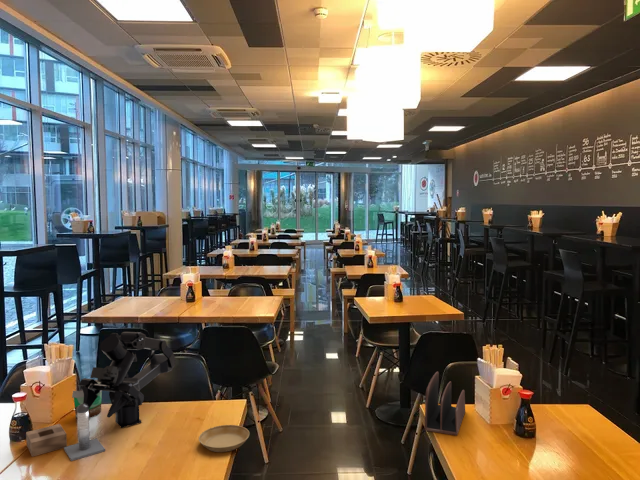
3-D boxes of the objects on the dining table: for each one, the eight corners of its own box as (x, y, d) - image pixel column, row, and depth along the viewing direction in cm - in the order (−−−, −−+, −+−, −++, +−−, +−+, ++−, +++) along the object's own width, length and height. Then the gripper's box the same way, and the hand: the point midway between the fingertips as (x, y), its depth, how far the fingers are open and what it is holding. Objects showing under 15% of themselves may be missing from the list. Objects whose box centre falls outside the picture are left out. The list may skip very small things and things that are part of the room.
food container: (89, 422, 162) (88, 392, 162) (73, 421, 164) (71, 391, 163) (112, 407, 174) (111, 380, 174) (96, 406, 176) (95, 379, 175)
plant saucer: (238, 458, 138) (238, 449, 138) (189, 453, 141) (189, 444, 141) (256, 435, 152) (256, 426, 152) (212, 431, 155) (211, 422, 155)
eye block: (60, 436, 152) (59, 423, 152) (66, 446, 145) (66, 433, 145) (26, 445, 147) (26, 432, 146) (31, 456, 140) (31, 442, 139)
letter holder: (424, 431, 153) (424, 386, 152) (435, 407, 171) (435, 367, 171) (457, 436, 149) (457, 390, 148) (465, 411, 167) (465, 371, 167)
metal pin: (84, 444, 145) (82, 401, 144) (93, 446, 144) (91, 402, 143) (75, 449, 142) (74, 405, 141) (84, 451, 141) (82, 406, 140)
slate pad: (96, 440, 149) (96, 438, 149) (105, 450, 142) (105, 448, 142) (63, 449, 144) (63, 447, 144) (71, 461, 137) (71, 458, 137)
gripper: (81, 352, 154) (54, 400, 144) (131, 357, 149) (106, 407, 139) (100, 369, 162) (76, 416, 152) (148, 374, 157) (126, 423, 147)
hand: (95, 415), depth 147 cm, fingers open, 9 cm apart
